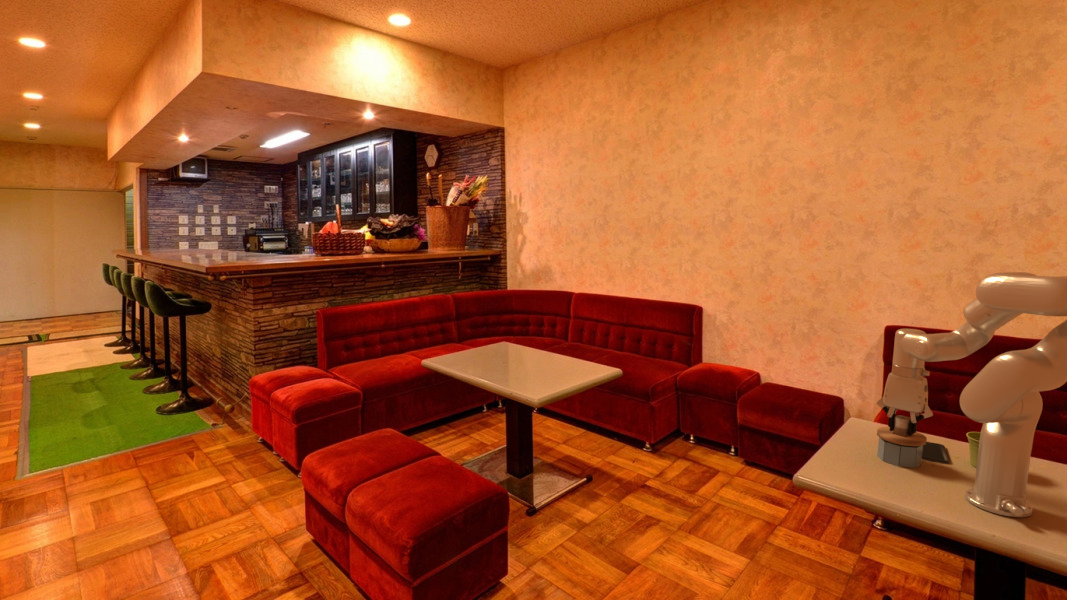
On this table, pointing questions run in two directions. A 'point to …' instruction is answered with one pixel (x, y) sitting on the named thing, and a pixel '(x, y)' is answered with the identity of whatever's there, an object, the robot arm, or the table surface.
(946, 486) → the table surface
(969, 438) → the plant pot
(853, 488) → the table surface
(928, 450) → the phone
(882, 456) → the bowl
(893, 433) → the lid
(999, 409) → the robot arm
